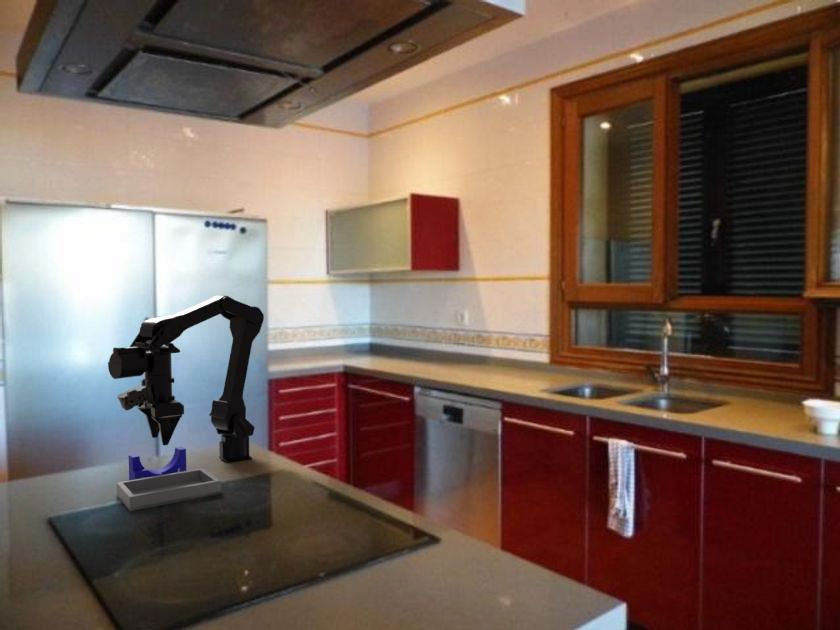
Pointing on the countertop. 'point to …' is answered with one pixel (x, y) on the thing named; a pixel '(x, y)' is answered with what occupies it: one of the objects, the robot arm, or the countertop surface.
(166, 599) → the countertop surface
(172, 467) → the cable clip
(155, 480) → the parts tray
